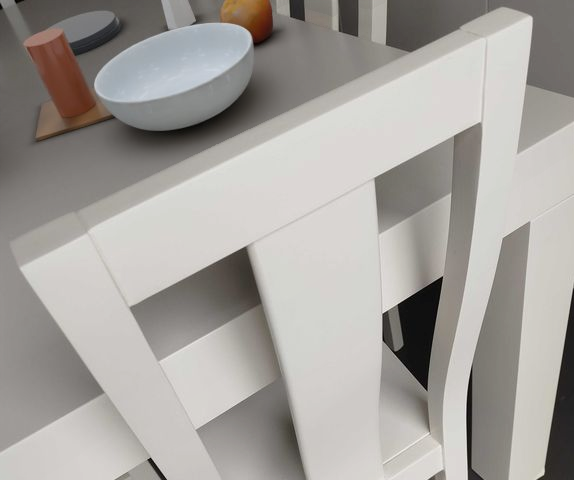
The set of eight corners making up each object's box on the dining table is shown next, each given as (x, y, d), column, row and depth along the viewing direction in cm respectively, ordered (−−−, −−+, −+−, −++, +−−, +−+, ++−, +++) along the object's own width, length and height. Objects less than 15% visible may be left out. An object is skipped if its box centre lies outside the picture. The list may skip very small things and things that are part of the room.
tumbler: (58, 121, 85) (21, 50, 78) (60, 105, 89) (25, 36, 81) (95, 110, 85) (61, 37, 77) (96, 94, 89) (64, 24, 81)
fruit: (294, 15, 91) (265, -25, 84) (270, 61, 91) (240, 26, 84) (258, 11, 95) (228, -27, 89) (235, 55, 96) (204, 21, 89)
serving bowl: (91, 124, 83) (68, 75, 78) (213, 61, 89) (198, 12, 84) (159, 171, 70) (137, 116, 65) (296, 94, 76) (285, 38, 71)
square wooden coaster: (36, 141, 83) (35, 138, 83) (43, 106, 91) (41, 103, 91) (118, 116, 83) (116, 112, 83) (117, 83, 91) (116, 80, 91)
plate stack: (35, 67, 104) (29, 56, 103) (42, 37, 115) (37, 26, 114) (121, 40, 104) (117, 28, 103) (120, 13, 115) (116, 2, 114)
